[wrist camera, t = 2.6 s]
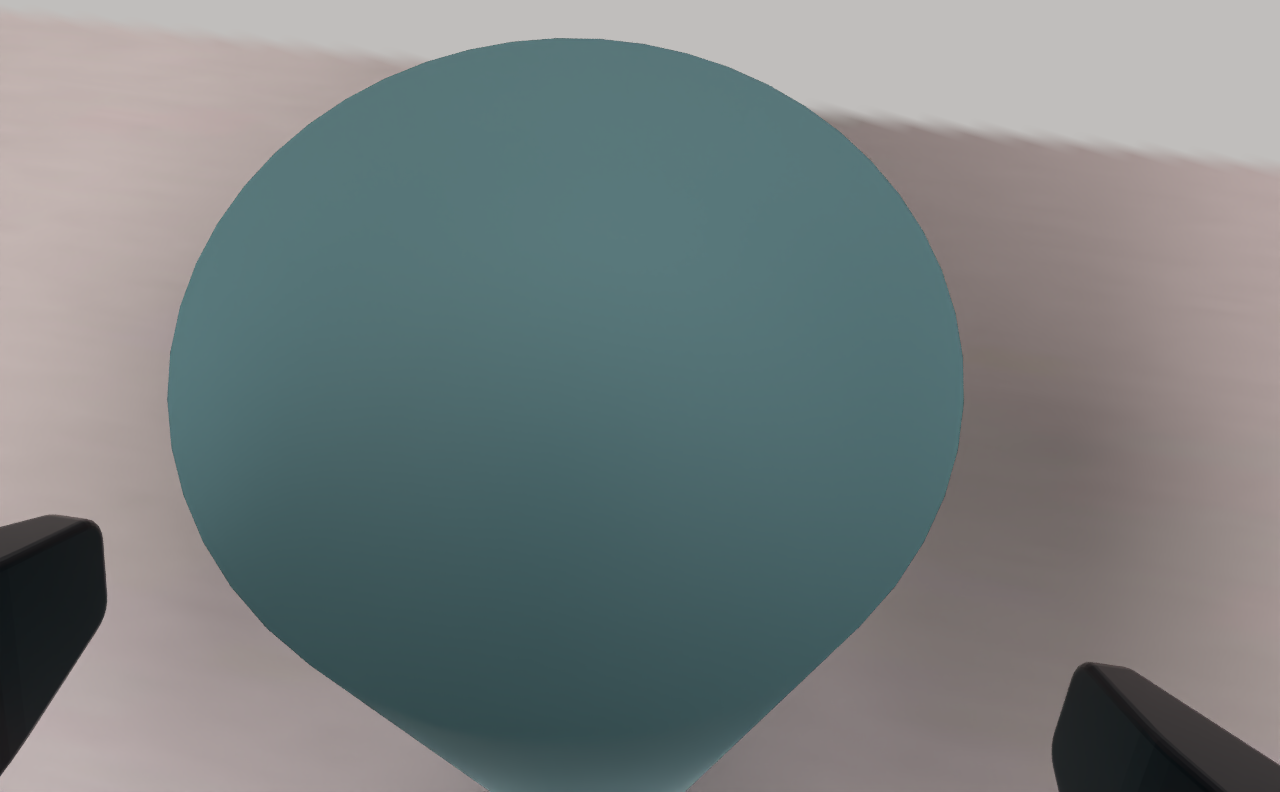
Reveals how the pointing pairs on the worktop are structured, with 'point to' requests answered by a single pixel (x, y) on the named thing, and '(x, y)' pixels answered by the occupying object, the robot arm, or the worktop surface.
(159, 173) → the worktop surface
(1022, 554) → the worktop surface
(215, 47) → the worktop surface
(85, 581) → the robot arm
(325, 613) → the peg
